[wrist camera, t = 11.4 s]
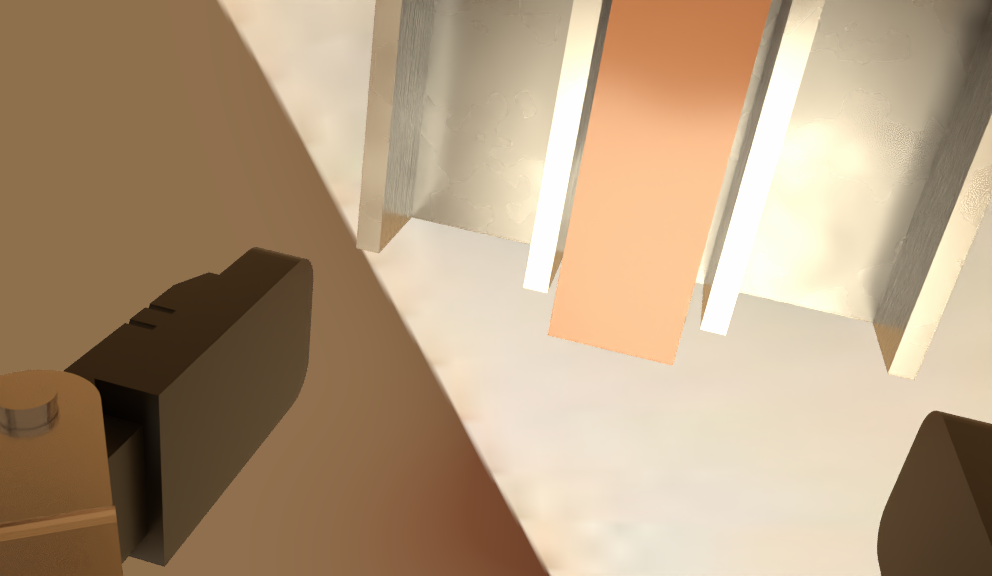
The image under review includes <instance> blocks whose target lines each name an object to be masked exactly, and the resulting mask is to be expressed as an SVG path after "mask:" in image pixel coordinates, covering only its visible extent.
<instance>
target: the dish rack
mask: <svg viewBox="0 0 992 576" xmlns="http://www.w3.org/2000/svg"><path fill="white" fill-rule="evenodd" d="M611 5H612V0H376V5H375V18H374V31H373V43H372V56H371V69H370V81H369V94H368V107H367V119H366V132H365V145H364V157H363V170H362V183H361V195H360V208H359V221H358V233H357V246H356V248H358V249H362V250H367V251H371V252H375V253H380V252H381V250H382V249H383V248H384V247H385V246H386V245H387V244H388V243H389V242H390V241H391V239H392V238H393V237H394V236H395V235H396V234H397V233H398V232H399V231H400V229H401V228H402V227H403V226H404V225H405V224H406V223H407V222H408V221H409V220H410V218H411V217H413V218H417V219H422V220H426V221H431V222H435V223H439V224H444V225H448V226H452V227H457V228H461V229H465V230H470V231H474V232H479V233H483V234H487V235H492V236H496V237H500V238H505V239H509V240H514V241H518V242H522V243H527V244H531V247H530V253H529V258H528V264H527V270H526V276H525V281H524V287H523V288H528V289H532V290H536V291H540V292H545V293H547V292H548V290H549V288H550V286H551V283H552V281H553V279H554V276H555V274H556V272H557V269H558V267H559V265H560V263H561V260H562V258H563V254H564V248H565V243H566V238H567V233H568V228H569V223H570V217H571V212H572V207H573V202H574V197H575V192H576V186H577V181H578V176H579V171H580V166H581V161H582V155H583V150H584V145H585V140H586V135H587V130H588V124H589V119H590V114H591V109H592V104H593V99H594V93H595V88H596V83H597V78H598V73H599V68H600V62H601V57H602V52H603V47H604V42H605V36H606V31H607V26H608V21H609V16H610V11H611ZM991 196H992V0H772V2H771V5H770V9H769V13H768V16H767V20H766V24H765V27H764V31H763V35H762V38H761V42H760V46H759V50H758V53H757V57H756V61H755V64H754V68H753V72H752V75H751V79H750V83H749V86H748V90H747V94H746V98H745V101H744V105H743V109H742V112H741V116H740V120H739V123H738V127H737V131H736V134H735V138H734V142H733V146H732V149H731V153H730V157H729V160H728V164H727V168H726V171H725V175H724V179H723V182H722V186H721V190H720V194H719V197H718V201H717V205H716V208H715V212H714V216H713V219H712V223H711V227H710V230H709V234H708V238H707V241H706V245H705V249H704V253H703V256H702V260H701V264H700V267H699V271H698V275H697V278H696V282H697V283H702V284H704V286H703V300H702V313H701V326H700V329H701V330H705V331H710V332H714V333H718V334H722V335H726V332H727V329H728V325H729V322H730V318H731V315H732V312H733V308H734V305H735V302H736V298H737V295H738V292H741V293H745V294H750V295H754V296H759V297H763V298H767V299H772V300H776V301H780V302H785V303H789V304H793V305H798V306H802V307H807V308H811V309H815V310H820V311H824V312H828V313H833V314H837V315H842V316H846V317H850V318H855V319H859V320H863V321H868V322H872V323H873V325H874V329H875V332H876V335H877V339H878V342H879V345H880V349H881V352H882V355H883V359H884V362H885V366H886V369H887V372H888V374H892V375H896V376H900V377H905V378H909V379H913V380H915V378H916V375H917V373H918V371H919V368H920V366H921V363H922V361H923V359H924V356H925V354H926V352H927V349H928V347H929V344H930V342H931V340H932V337H933V335H934V332H935V330H936V328H937V325H938V323H939V320H940V318H941V316H942V313H943V311H944V308H945V306H946V304H947V301H948V299H949V296H950V294H951V292H952V289H953V287H954V284H955V282H956V280H957V277H958V275H959V272H960V270H961V268H962V265H963V263H964V260H965V258H966V256H967V253H968V251H969V249H970V246H971V244H972V241H973V239H974V237H975V234H976V232H977V229H978V227H979V225H980V222H981V220H982V217H983V215H984V213H985V210H986V208H987V205H988V203H989V201H990V198H991Z"/></svg>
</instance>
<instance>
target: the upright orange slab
mask: <svg viewBox="0 0 992 576" xmlns="http://www.w3.org/2000/svg"><path fill="white" fill-rule="evenodd" d="M771 2H772V0H612V5H611V11H610V16H609V21H608V26H607V31H606V36H605V42H604V47H603V52H602V57H601V62H600V68H599V73H598V78H597V83H596V88H595V93H594V99H593V104H592V109H591V114H590V119H589V124H588V130H587V135H586V140H585V145H584V150H583V155H582V161H581V166H580V171H579V176H578V181H577V186H576V192H575V197H574V202H573V207H572V212H571V217H570V223H569V228H568V233H567V238H566V243H565V248H564V254H563V259H562V264H561V269H560V274H559V279H558V285H557V290H556V295H555V300H554V305H553V310H552V316H551V321H550V326H549V331H548V335H549V336H553V337H557V338H561V339H566V340H570V341H574V342H578V343H582V344H586V345H590V346H594V347H599V348H603V349H607V350H611V351H615V352H619V353H623V354H627V355H631V356H636V357H640V358H644V359H648V360H652V361H656V362H660V363H664V364H669V365H673V363H674V360H675V356H676V352H677V349H678V345H679V341H680V337H681V334H682V330H683V326H684V323H685V319H686V315H687V312H688V308H689V304H690V301H691V297H692V293H693V289H694V286H695V282H696V278H697V275H698V271H699V267H700V264H701V260H702V256H703V253H704V249H705V245H706V241H707V238H708V234H709V230H710V227H711V223H712V219H713V216H714V212H715V208H716V205H717V201H718V197H719V194H720V190H721V186H722V182H723V179H724V175H725V171H726V168H727V164H728V160H729V157H730V153H731V149H732V146H733V142H734V138H735V134H736V131H737V127H738V123H739V120H740V116H741V112H742V109H743V105H744V101H745V98H746V94H747V90H748V86H749V83H750V79H751V75H752V72H753V68H754V64H755V61H756V57H757V53H758V50H759V46H760V42H761V38H762V35H763V31H764V27H765V24H766V20H767V16H768V13H769V9H770V5H771Z"/></svg>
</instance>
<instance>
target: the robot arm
mask: <svg viewBox="0 0 992 576" xmlns="http://www.w3.org/2000/svg"><path fill="white" fill-rule="evenodd" d="M312 291H313V269H312V265H311V263H310V261H309V260H307V259H304V258H300V257H295V256H292V255H288V254H283V253H279V252H275V251H271V250H266V249H262V248H258V247H254V248H252V249H250V250H249V251H247V252H246V253H245V254H244V255H243V256H241V257H240V258H239V259H238V260H237V261H235V262H234V263H233V264H232V265H231V266H229V267H228V268H227V269H226V270H224V271H223V272H222V273H221V274H220V275H217V274H213V273H206V274H203V275H200V276H198V277H195V278H192V279H190V280H187V281H184V282H181V283H178V284H176V285H173V286H172V287H171V288H170V289H168V290H167V291H166V292H164V293H163V294H162V295H161V296H159V297H158V298H157V299H155V300H154V301H153V302H152V303H150V306H149V308H144V309H143V310H141V311H140V312H139V313H137V314H136V315H135V316H134V317H132V318H131V319H130V322H129V324H126V323H125V324H124V325H122V326H121V327H119V328H118V329H117V330H116V331H114V332H113V333H112V334H110V335H109V336H108V337H107V338H105V339H104V340H103V341H102V342H100V343H99V344H98V345H96V346H95V347H94V348H92V349H91V350H90V351H89V352H87V353H86V354H85V355H83V356H82V357H81V358H80V359H78V360H77V361H76V362H74V363H73V364H72V365H71V366H69V367H68V368H67V369H65V370H64V371H56V370H25V371H19V372H13V373H8V374H4V375H0V576H123V570H122V563H123V562H124V561H125V560H126V558H127V557H128V556H131V557H134V558H137V559H141V560H144V561H147V562H151V563H154V564H158V565H161V566H165V565H166V564H167V563H168V561H169V560H170V559H171V558H172V557H173V555H174V554H175V553H176V551H177V550H178V549H179V548H180V546H181V545H182V544H183V543H184V541H185V540H186V539H187V537H188V536H189V535H190V534H191V533H192V531H193V530H194V529H195V527H196V526H197V525H198V524H199V522H200V521H201V520H202V519H203V517H204V516H205V515H206V514H207V512H208V511H209V510H210V509H211V507H212V506H213V505H214V503H215V502H216V501H217V500H218V498H219V497H220V496H221V495H222V493H223V492H224V491H225V490H226V488H227V487H228V486H229V484H230V483H231V482H232V481H233V479H234V478H235V477H236V476H237V474H238V473H239V472H240V471H241V469H242V468H243V467H244V466H245V464H246V463H247V462H248V461H249V459H250V458H251V457H252V456H253V454H254V453H255V452H256V450H257V449H258V448H259V446H260V445H261V444H262V443H263V442H264V440H265V439H266V438H267V437H268V435H269V434H270V433H271V431H272V430H273V429H274V428H275V426H276V425H277V424H278V423H279V421H280V420H281V419H282V418H283V416H284V415H285V414H286V413H287V411H288V410H289V409H290V407H291V406H292V405H293V403H294V402H295V400H296V398H297V397H298V395H299V393H300V390H301V388H302V385H303V383H304V380H305V376H306V372H307V367H308V359H309V344H310V327H311V309H312ZM877 554H878V562H879V566H880V571H881V576H992V424H990V423H986V422H981V421H977V420H973V419H969V418H965V417H960V416H956V415H952V414H948V413H944V412H940V411H933V412H931V413H930V414H928V415H927V417H926V418H925V419H924V421H923V423H922V425H921V427H920V429H919V431H918V433H917V435H916V438H915V440H914V442H913V445H912V447H911V449H910V451H909V454H908V456H907V458H906V460H905V463H904V465H903V467H902V470H901V472H900V474H899V476H898V479H897V481H896V483H895V486H894V488H893V490H892V492H891V495H890V497H889V499H888V501H887V504H886V506H885V509H884V511H883V515H882V518H881V522H880V527H879V532H878V542H877Z"/></svg>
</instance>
